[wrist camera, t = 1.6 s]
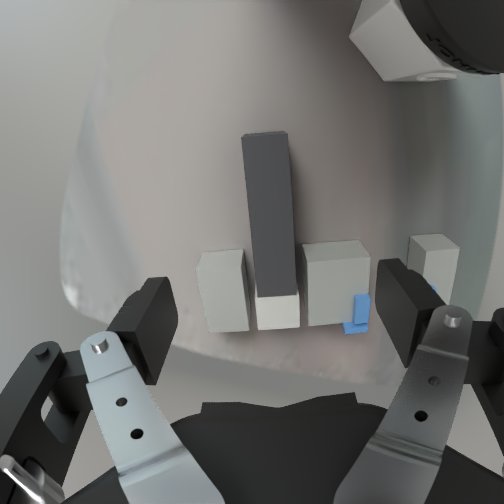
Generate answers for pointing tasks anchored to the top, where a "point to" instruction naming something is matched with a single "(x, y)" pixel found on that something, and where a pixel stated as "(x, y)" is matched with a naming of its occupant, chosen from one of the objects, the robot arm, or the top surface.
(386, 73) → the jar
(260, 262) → the tall dark pillar
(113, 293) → the top surface
